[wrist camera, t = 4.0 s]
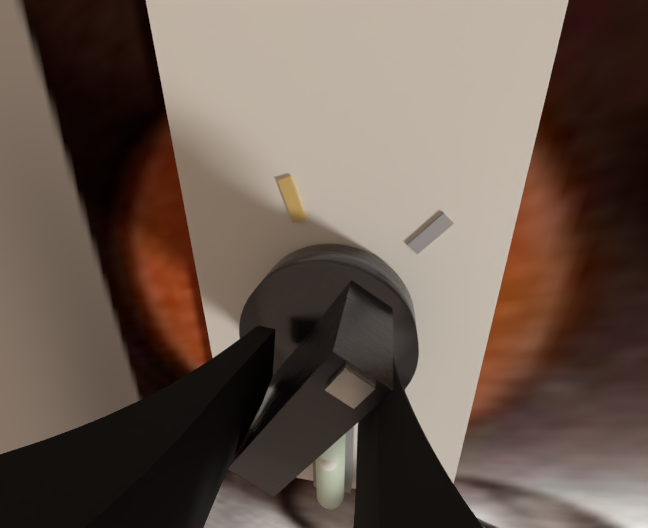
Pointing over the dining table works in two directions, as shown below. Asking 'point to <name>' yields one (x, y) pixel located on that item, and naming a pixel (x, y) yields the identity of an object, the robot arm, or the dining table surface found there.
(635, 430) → the dining table surface
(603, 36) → the dining table surface
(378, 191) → the base plate
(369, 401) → the knob
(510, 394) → the dining table surface
